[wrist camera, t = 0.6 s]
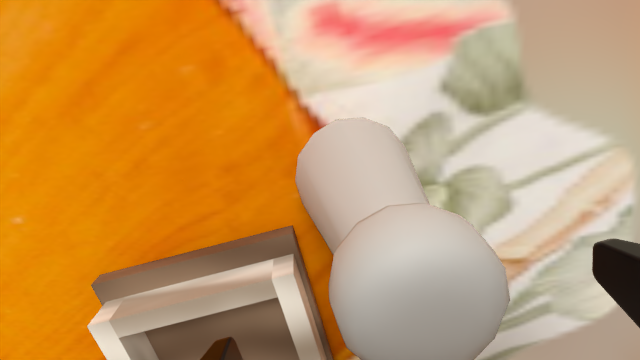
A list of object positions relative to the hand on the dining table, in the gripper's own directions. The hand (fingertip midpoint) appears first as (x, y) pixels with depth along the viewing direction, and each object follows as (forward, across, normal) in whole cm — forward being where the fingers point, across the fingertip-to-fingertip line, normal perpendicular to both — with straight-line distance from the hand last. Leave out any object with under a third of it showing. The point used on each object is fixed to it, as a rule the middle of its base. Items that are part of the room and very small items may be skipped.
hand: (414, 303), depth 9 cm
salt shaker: (+12, 0, 0) cm, 12 cm away
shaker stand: (+12, +10, +10) cm, 19 cm away
